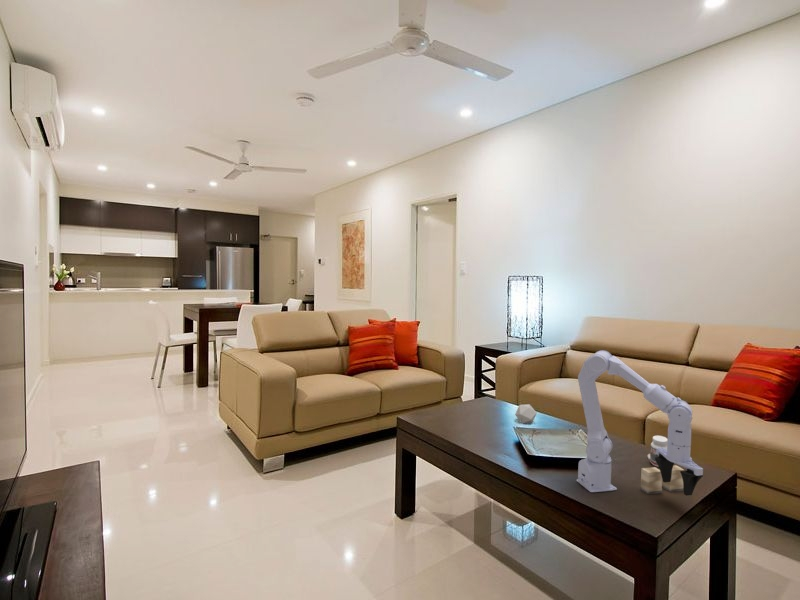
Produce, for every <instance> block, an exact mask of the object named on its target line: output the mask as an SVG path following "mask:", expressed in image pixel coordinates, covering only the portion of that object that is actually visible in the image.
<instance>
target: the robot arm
mask: <svg viewBox="0 0 800 600" xmlns="http://www.w3.org/2000/svg"><path fill="white" fill-rule="evenodd" d="M606 372H607V375H609V376H610V375H613V376H619V377H621V378H623V380H625V381H627V382H628V383H630V384H631V385H632V386H633V387H636V388H637V389H638V390H639V391H641V392H642V394H643V397H644V399H646V401H648V402H649V403H650V404H652V405H653V406H654V407H656V408H657V409H658V410H660V411H661V412H662V413H665V414H666V415H667V419H668V421H669V422H668V426H667V439H668V440H667V450H666V449H664V448H656V454H657V455H659V456H658V457H655V460H656V462H657V464H658V466H659V467H658V469H659V470H660V472H661V476H662V482H670V481H671V475H672V468H673V466H675V465H677V466H679V467H681V468H684V469H686V470H684V471H680V473H681V475H682V479H683V491H682V492H683V494H684V496H692V495H693V493H694V491H695V488H696V486H697V484H698V482H699V481H700V480H701V479H702V478H703V477H704V468H703V467H702V466H699V465H698V464H697V463H696V462H694V461H693V458H692V457H691V448H692V447H691V446H692V423H691V422H692V420H693V408H692V406H691V405H690V404H689V403H688V402H687V401H686V400H682V399H681V398H680V397H679V396H678V397H676V396H674V394H672V393H671V392H669V391H668V390H667V389H666V388H667V387H666V386H665V385H663V384H661V385H659V384H658V383H650V382H649V381H647V380H646V379H645V378H643V377H642V376H641V375H639V373H637V372H636V371H634V370H633V369H632V368H631V367H630V366H628V365H627V364H626V363H624V362H623V360H621V359H619V358H618V357H616V356H615V355H612V354H611V352H610V351H607V350H602V349H601V350H598V351H596V352H595V353H593V354H591V355H590V356H588V357H587V358H586V359H585V360H584V362H583V364H582V367H581V369H580V370H579V373H578V375H577V382H578V387H579V391H580V396H581V402H582V407H583V411H584V416H585V422H586V427H587V434H586V435H587V436H586V440H587V441H586V442H587V445H586V448H585V454H586V457H585V458H583V459H581V460H579V461H578V466H577V467H578V469H577V479H576V482H578V484H580V485H581V486H582V487H583V488H584V489H586V490H587V491H589V492H590V493H600V492H611V491H617V490H618V488H617V487H616V486H614V485H613V484H612V483H611V482H612V457H611V455H610V452H612V450H613V448H614V447H613V446H614V445H613V442H612V440H611V438H609V434H608V431H607V430H606V428H605V425H604V420H603V415H602V410H601V405H600V399H599V395H598V389H597V384H596V380H597V379H598V378H599V377H600V376H601V375H602V374H604V373H606ZM674 464H675V465H674Z"/></svg>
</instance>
